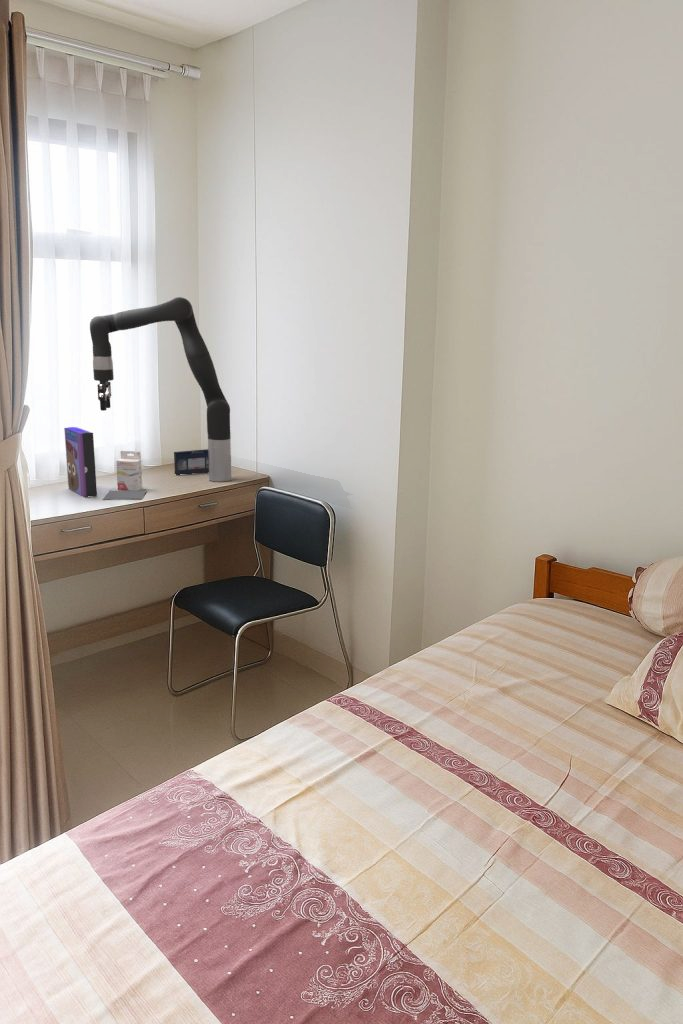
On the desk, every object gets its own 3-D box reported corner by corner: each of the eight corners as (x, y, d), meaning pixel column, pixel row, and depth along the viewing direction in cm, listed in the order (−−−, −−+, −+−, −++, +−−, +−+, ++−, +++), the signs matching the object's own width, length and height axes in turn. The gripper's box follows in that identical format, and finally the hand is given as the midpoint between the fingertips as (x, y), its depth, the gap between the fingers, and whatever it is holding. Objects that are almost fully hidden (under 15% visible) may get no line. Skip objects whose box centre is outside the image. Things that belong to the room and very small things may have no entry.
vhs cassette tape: (176, 475, 330) (175, 452, 328) (174, 474, 333) (173, 451, 330) (217, 472, 339) (216, 449, 337) (214, 471, 342) (214, 448, 339)
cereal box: (68, 488, 302) (64, 427, 297) (80, 487, 305) (76, 426, 299) (84, 497, 289) (80, 433, 283) (97, 495, 292) (93, 432, 286)
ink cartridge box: (117, 490, 302) (115, 452, 298) (121, 487, 307) (119, 450, 303) (138, 491, 301) (136, 453, 297) (143, 488, 306) (141, 451, 302)
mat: (147, 491, 301) (146, 490, 301) (141, 499, 287) (141, 498, 287) (109, 491, 299) (109, 490, 299) (102, 500, 286) (102, 498, 286)
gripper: (109, 369, 301) (112, 411, 305) (116, 367, 315) (118, 407, 319) (89, 369, 300) (92, 411, 304) (97, 366, 314) (99, 407, 318)
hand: (105, 409), depth 312 cm, fingers open, 8 cm apart
